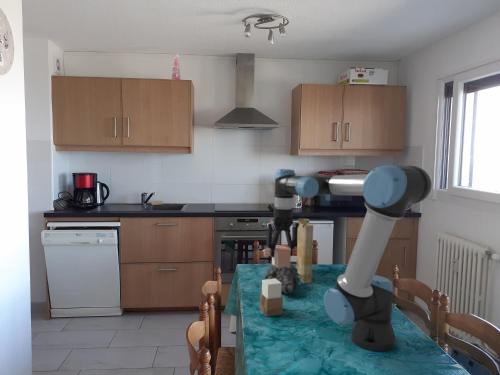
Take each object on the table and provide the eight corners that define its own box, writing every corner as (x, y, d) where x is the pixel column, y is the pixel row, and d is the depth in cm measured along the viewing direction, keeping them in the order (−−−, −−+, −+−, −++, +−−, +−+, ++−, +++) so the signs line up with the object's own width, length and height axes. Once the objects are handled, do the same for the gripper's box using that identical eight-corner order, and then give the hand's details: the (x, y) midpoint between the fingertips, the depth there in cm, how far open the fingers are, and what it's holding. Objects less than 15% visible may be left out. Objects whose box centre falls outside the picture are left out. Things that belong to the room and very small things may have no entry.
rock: (268, 309, 175) (297, 302, 170) (254, 280, 174) (284, 272, 168) (278, 286, 195) (305, 279, 190) (266, 260, 194) (293, 252, 188)
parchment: (295, 269, 215) (297, 217, 212) (306, 270, 215) (308, 218, 212) (299, 283, 192) (301, 225, 189) (311, 284, 191) (313, 225, 189)
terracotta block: (290, 266, 151) (290, 249, 151) (277, 267, 150) (278, 250, 149) (284, 262, 157) (284, 246, 156) (272, 263, 155) (272, 246, 154)
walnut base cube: (282, 314, 154) (282, 297, 153) (266, 316, 151) (267, 299, 151) (275, 307, 160) (275, 291, 160) (260, 309, 158) (260, 293, 157)
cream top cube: (281, 297, 154) (281, 283, 153) (267, 299, 152) (268, 284, 151) (274, 292, 159) (275, 278, 159) (261, 293, 157) (262, 279, 157)
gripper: (299, 205, 157) (297, 259, 160) (258, 206, 151) (256, 263, 153) (308, 208, 150) (305, 265, 153) (265, 209, 144) (263, 268, 146)
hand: (280, 264), depth 153 cm, fingers closed on terracotta block, 5 cm apart
